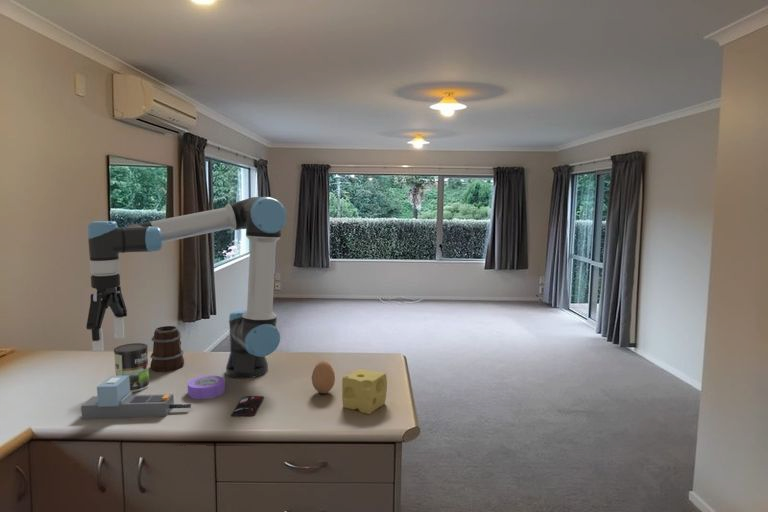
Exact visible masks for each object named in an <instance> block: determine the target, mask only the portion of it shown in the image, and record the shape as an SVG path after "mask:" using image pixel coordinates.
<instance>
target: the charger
mask: <svg viewBox="0 0 768 512" xmlns="http://www.w3.org/2000/svg"><path fill="white" fill-rule="evenodd" d="M96 392H97V395H96V396H98V407H104V406H118V405H119V404H120V401H121V400H122V399H123V398H124V397H125V396H126V395H127V394H129V393H130V380H129V375H128V376H116V375H109V376H108V377H107V378H106V379H105V380H104V381H102V382H101V383H100V384H98V385H97V386H96Z"/></svg>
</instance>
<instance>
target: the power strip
mask: <svg viewBox="0 0 768 512" xmlns="http://www.w3.org/2000/svg"><path fill="white" fill-rule="evenodd" d="M174 400H175V398H174V394H173V393H171V394H170V393H168V394H166V393H165V394H163V393H162V394H160V393H159V394H135V395H133V392H130V393H129V394H127V395H126V396H125V397H124V398H123V399H122V400H121V401H120V404H119V405H118V406H104V407H98V396H97V395H96V396H93V395H92V396H91V397H90V398H88V399H87V400H86V401H85V402H84V403H83V404H82V405H80V407H81V408H80V409H81V411H80V412H81V420H84V419H85V420H90V419H94V420H95V419H118V418H120V419H123V418H147V417H149V418H150V417H153V418H154V417H167V416H168V415H169V414H170V412H171V411H172V410H173V409H191V407H192V403H175V401H174Z"/></svg>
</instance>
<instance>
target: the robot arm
mask: <svg viewBox="0 0 768 512" xmlns="http://www.w3.org/2000/svg"><path fill="white" fill-rule="evenodd" d="M287 217H288V215H287V211H286V209H285V206H284V204H282V203H281V202H280V201H279V200H278V199H275V198H273V197H270V196H253V197H249V198H245V199H243V200H239V201H236V202H235V201H234V202H231V203H226V205H225V206H224V207H221V208H220V207H219V208H216V209H215V208H214V209H210V210H204V211H199V212H194V213H188V214H184V215H179V216H173V217H168V218H163V219H157V220H152V221H149V222H148V221H147V222H143V223H138V224H137V223H132V224H128V225H126V226H125V227H119V226H118V224H117V221H115V220H114V221H113V220H100V221H99V220H96V221H94V220H93V221H91V222H89V223H88V225H87V239H88V253H89V254H88V255H89V264H88V265H89V268H90V274H92V275H91V276H90V285H91V288H92V289H93V290H94V289H95V290H96V293H91V294H90V302H89V309H88V315H87V321H86V327H85V328H86V329H87V330H91V345H92V347H91V348H92V352H104V350H105V349H104V348H105V347H104V332H103V331H104V330H103V328H102V325H103V320H104V317H105V314H106V310H107V309H108V308H110V310H111V311H112V314H113V315H114V317H113V335H114V339H124V338H125V337H126V335H125V320H124V318H125V317H127V316H128V313H127V312H128V310H127V307H126V303H125V300H124V296H123V294H122V288H121V275H120V274H119V272H121V271H120V258H119V255H120V254H123V253H124V254H125V253H152V252H159V251H161V249H162V248H163V243H167V242H172V241H177V240H182V239H185V238H186V239H187V238H191V237H196V236H201V235H205V234H210V233H215V232H221V231H225V230H231V231H239V230H245V237H246V239H248V240H249V260H248V263H249V264H248V279H247V280H248V282H247V284H248V285H247V302H246V303H247V304H246V306H247V307H246V309H244V310H243V309H242V310H235V311H232V312H231V313H229V317H228V318H229V319H228V325H229V345H230V346H229V348H230V349H229V350H230V352H229V356H228V358H227V362H226V366H225V374H226V375H227V376H228V377H231V378H235V379H247V378H249V379H250V378H256V377H259V376H262V375H264V374H266V373H267V372H268V371H269V362H268V361H267V358H266V356H270V355H271V354H273V352H274V351H276V350H277V348H278V347H279V345H280V343H281V334H280V331H279V329H278V328H277V320H278V319H277V314H276V313H275V312H274V310H273V306H274V289H275V288H274V287H275V285H274V284H275V270H276V250H277V249H276V248H277V247H276V246H277V242H278V241H279V240H280V239H281V237H282V229H283V228H284V226H285V225H286V221H287Z"/></svg>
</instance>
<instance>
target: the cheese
mask: <svg viewBox="0 0 768 512" xmlns="http://www.w3.org/2000/svg"><path fill="white" fill-rule="evenodd" d="M387 377H388V376H387V373H385V372H379V371H372V370H369V369H368V370H367V369H364V368H358V369H357V370H354V371H353V372H351V373H350V374H346V375H345V376H343V377H342V380H341V381H342V382H341V384H342V385H341V386H342V387H341V388H342V389H341V390H342V391H341V392H342V397H341V399H342V401H341V402H342V407H343V408H346V409H348V410H353V411H355V410H359V412H360V413H363V414H365V415H370V414H372V413H373V412H374V411H376V410H377V409H379V408H380V407H383V406H384V405H385V404H386V400H387V399H386V398H387V392H388V391H387V389H388V380H387Z"/></svg>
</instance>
